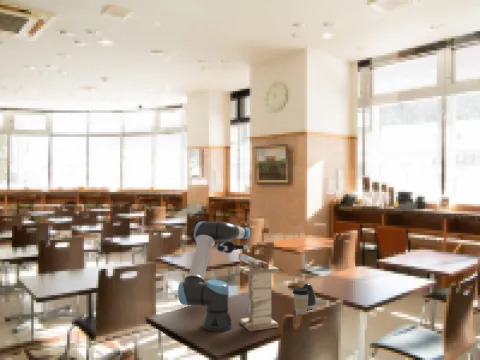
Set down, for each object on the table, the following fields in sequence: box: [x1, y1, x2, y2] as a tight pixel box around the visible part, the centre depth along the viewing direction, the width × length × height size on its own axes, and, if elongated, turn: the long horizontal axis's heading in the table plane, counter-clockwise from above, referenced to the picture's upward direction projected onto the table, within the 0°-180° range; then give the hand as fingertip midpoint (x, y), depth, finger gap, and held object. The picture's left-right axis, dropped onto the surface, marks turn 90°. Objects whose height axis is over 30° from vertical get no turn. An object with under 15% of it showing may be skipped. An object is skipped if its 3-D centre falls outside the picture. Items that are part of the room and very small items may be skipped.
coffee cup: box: [292, 287, 309, 317], centre depth 229 cm, size 9×9×15 cm
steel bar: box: [238, 253, 262, 268], centre depth 227 cm, size 28×3×3 cm, turn 20°
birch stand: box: [237, 259, 280, 332], centre depth 214 cm, size 14×18×33 cm
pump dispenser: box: [301, 283, 317, 311], centre depth 242 cm, size 10×10×15 cm
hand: (237, 247), depth 252 cm, fingers open, 13 cm apart
